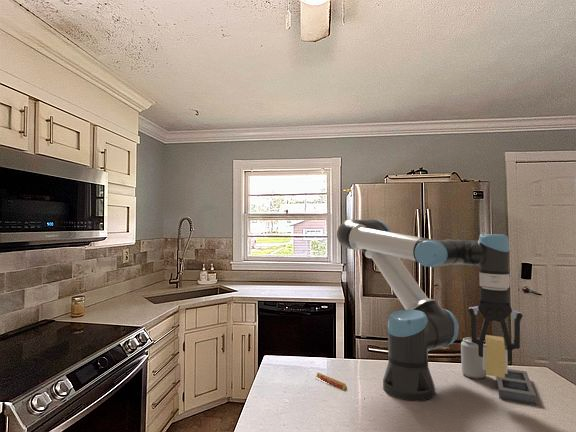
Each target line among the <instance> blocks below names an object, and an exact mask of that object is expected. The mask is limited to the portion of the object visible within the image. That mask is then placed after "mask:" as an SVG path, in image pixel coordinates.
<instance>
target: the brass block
mask: <svg viewBox="0 0 576 432" xmlns="http://www.w3.org/2000/svg"><path fill="white" fill-rule="evenodd" d="M485 345H486V376H491V377H495V378H496V377H502V378H505V347H506V342H505V338H504V336H499V335H498V336H497V335H488V334H486V336H485Z"/></svg>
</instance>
